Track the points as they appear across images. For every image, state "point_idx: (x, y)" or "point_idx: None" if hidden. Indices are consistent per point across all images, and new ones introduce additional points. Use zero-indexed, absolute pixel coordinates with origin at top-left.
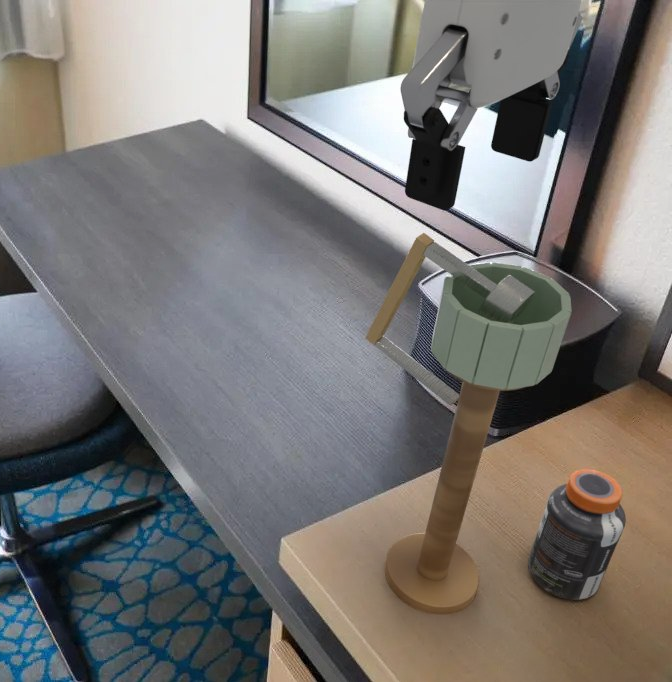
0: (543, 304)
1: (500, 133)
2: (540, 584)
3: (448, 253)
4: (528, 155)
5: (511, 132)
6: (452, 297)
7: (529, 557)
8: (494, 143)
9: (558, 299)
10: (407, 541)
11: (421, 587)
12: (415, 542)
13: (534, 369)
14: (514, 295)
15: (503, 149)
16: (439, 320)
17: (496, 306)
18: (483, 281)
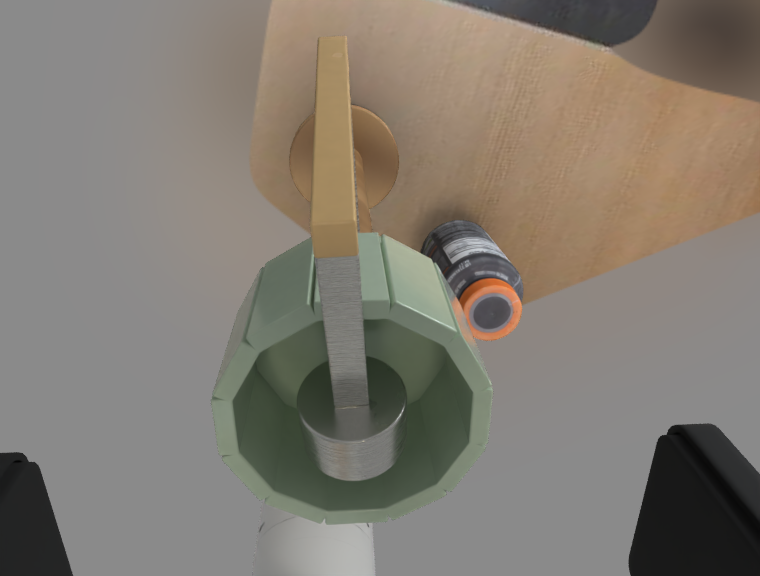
0: (449, 421)
1: (700, 517)
2: (421, 249)
3: (351, 299)
4: (640, 574)
5: (700, 573)
6: (247, 362)
7: (443, 226)
8: (677, 457)
9: (435, 473)
10: (355, 117)
11: (311, 171)
12: (362, 125)
13: None
14: (329, 464)
15: (655, 488)
16: (247, 312)
17: (301, 429)
18: (345, 384)
